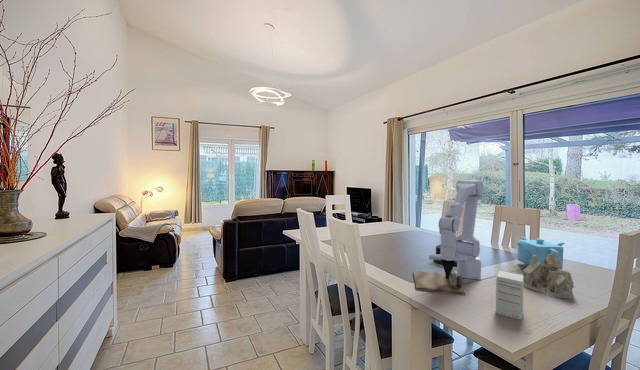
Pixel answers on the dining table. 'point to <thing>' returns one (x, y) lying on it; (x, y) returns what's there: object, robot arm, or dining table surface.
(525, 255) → the teakettle
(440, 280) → the board
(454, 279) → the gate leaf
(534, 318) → the dining table surface
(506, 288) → the supplement box
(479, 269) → the robot arm
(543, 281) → the ceramic cottage
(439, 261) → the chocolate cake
